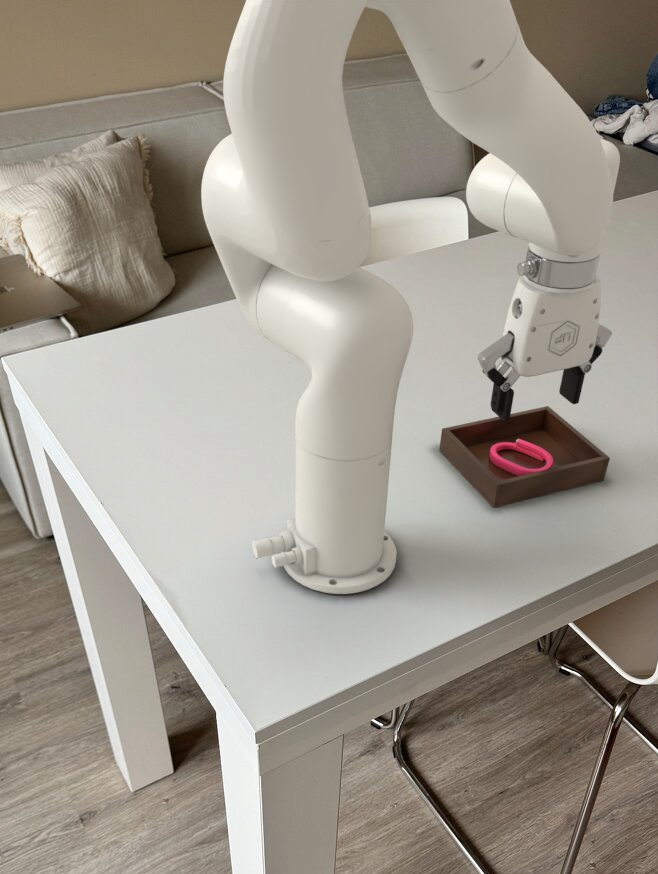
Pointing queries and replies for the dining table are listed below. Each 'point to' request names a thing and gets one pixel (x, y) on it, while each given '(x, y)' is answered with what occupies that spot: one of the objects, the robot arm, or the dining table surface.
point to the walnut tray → (523, 456)
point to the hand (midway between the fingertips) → (534, 406)
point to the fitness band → (524, 448)
